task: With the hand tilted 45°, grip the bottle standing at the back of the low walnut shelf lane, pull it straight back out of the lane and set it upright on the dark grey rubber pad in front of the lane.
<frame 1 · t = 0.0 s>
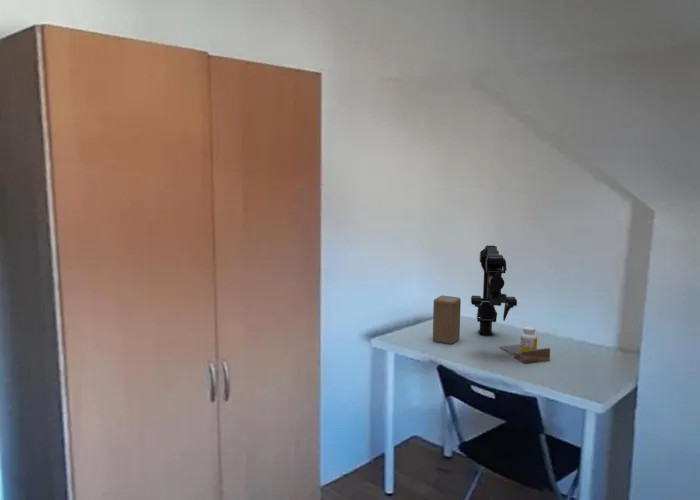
hand: (492, 320, 257), 15 cm above the table, tool pointing down, fingers open, 9 cm apart
shelf lane: (528, 357, 254), on the table
wooden block: (446, 340, 276), on the table
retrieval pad: (515, 350, 263), on the table
supplement bottle: (528, 357, 254), on the table
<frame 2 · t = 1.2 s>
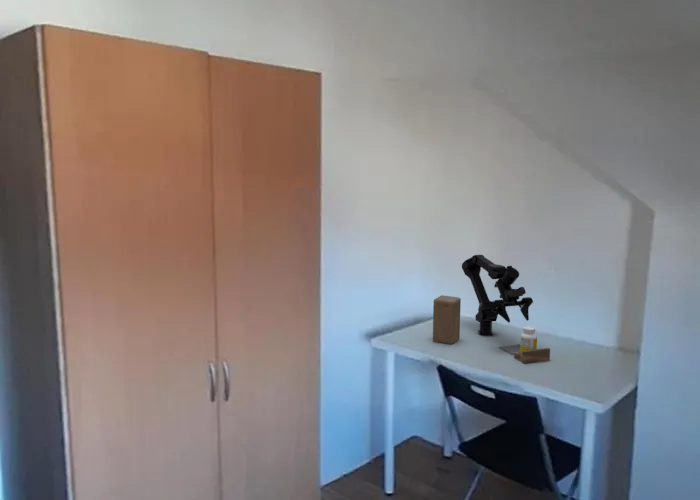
hand: (518, 321, 259), 14 cm above the table, tool tilted 45°, fingers open, 9 cm apart
nothing on the table moved.
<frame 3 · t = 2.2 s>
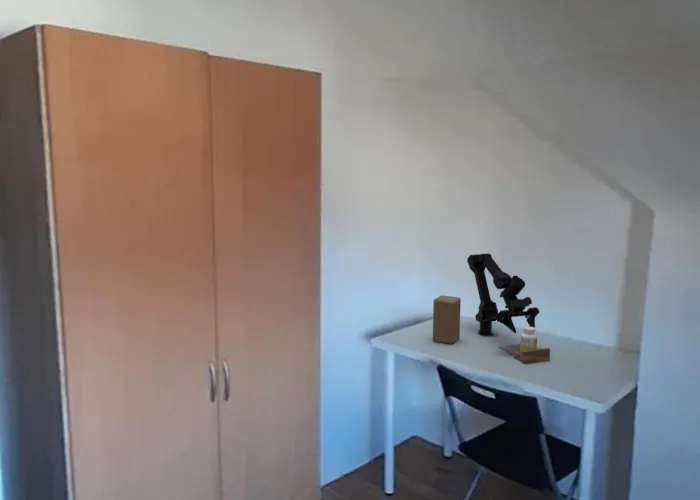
hand: (525, 331, 255), 10 cm above the table, tool tilted 45°, fingers open, 9 cm apart
nothing on the table moved.
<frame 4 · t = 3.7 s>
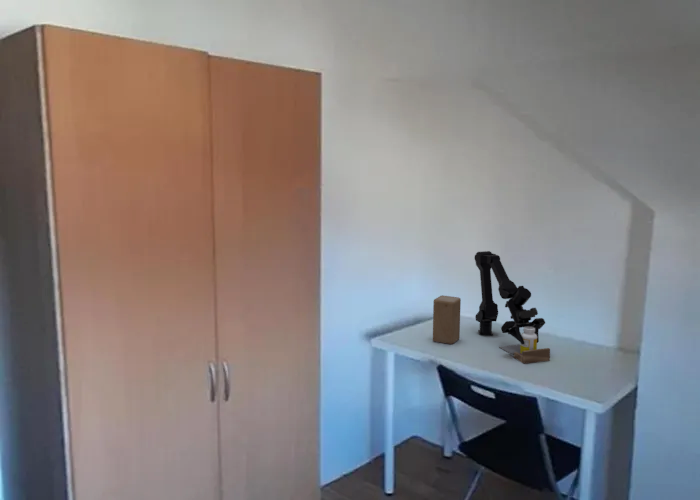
hand: (530, 343, 251), 7 cm above the table, tool tilted 45°, fingers closed on supplement bottle, 7 cm apart
supplement bottle: (528, 357, 254), on the table, touching gripper
everything else where it was.
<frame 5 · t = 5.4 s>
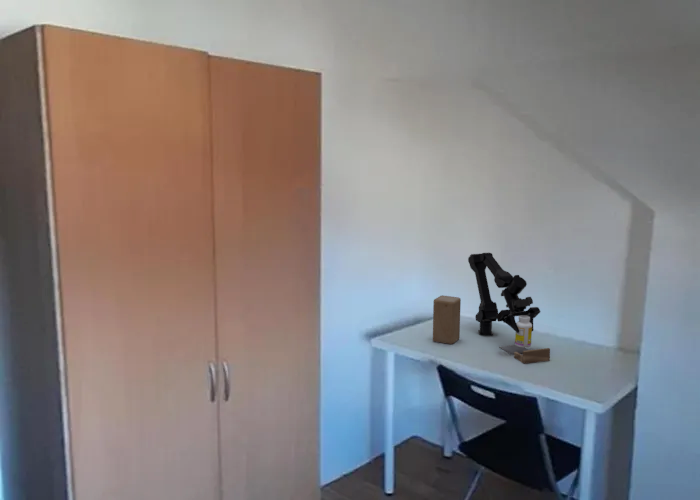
hand: (525, 331, 255), 10 cm above the table, tool tilted 45°, fingers closed on supplement bottle, 7 cm apart
supplement bottle: (522, 345, 257), point 4 cm above the table, touching gripper
everything else where it was.
when the fingers open (8 cm above the table, at t = 7.3 s): supplement bottle drops 1 cm, resting on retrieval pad.
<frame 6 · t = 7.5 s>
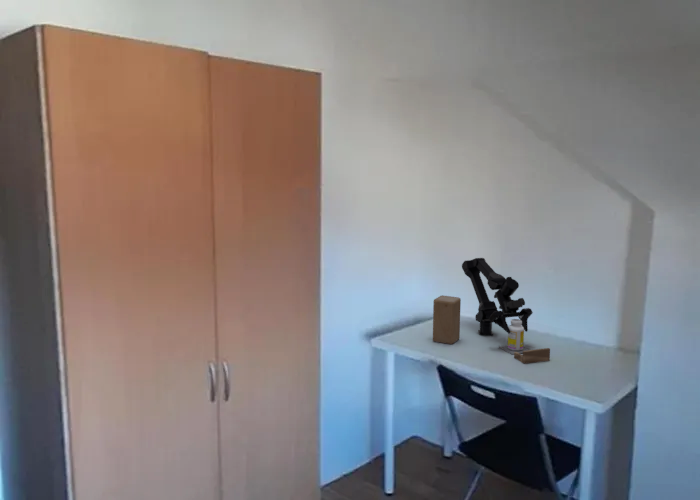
hand: (518, 332, 260), 9 cm above the table, tool tilted 45°, fingers open, 8 cm apart
supplement bottle: (515, 349, 263), resting on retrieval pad
everything else where it was.
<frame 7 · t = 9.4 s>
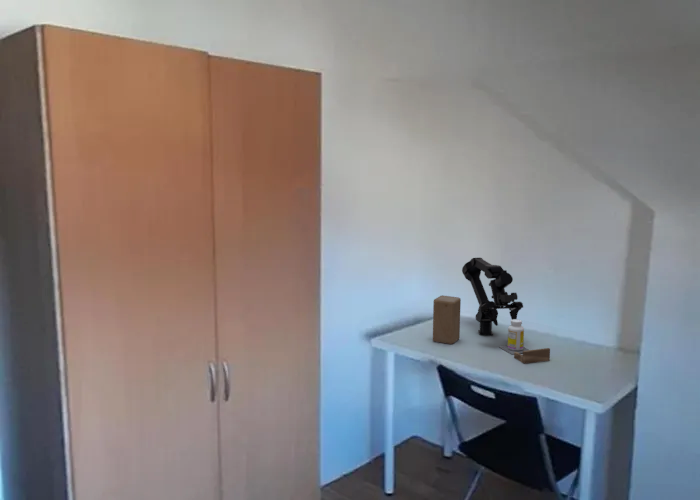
hand: (506, 325, 266), 10 cm above the table, tool tilted 30°, fingers open, 9 cm apart
nothing on the table moved.
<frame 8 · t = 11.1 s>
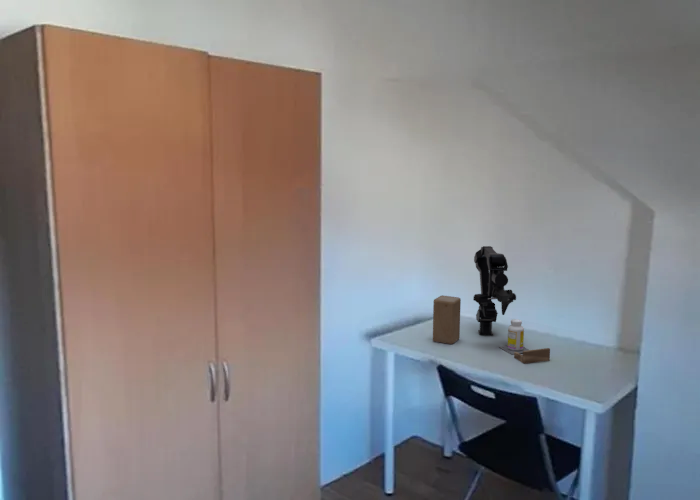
hand: (494, 315, 270), 13 cm above the table, tool pointing down, fingers open, 9 cm apart
nothing on the table moved.
at the end: supplement bottle 0.2 cm from the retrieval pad (horizontally); supplement bottle tilted 0°; the gripper is holding nothing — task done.
